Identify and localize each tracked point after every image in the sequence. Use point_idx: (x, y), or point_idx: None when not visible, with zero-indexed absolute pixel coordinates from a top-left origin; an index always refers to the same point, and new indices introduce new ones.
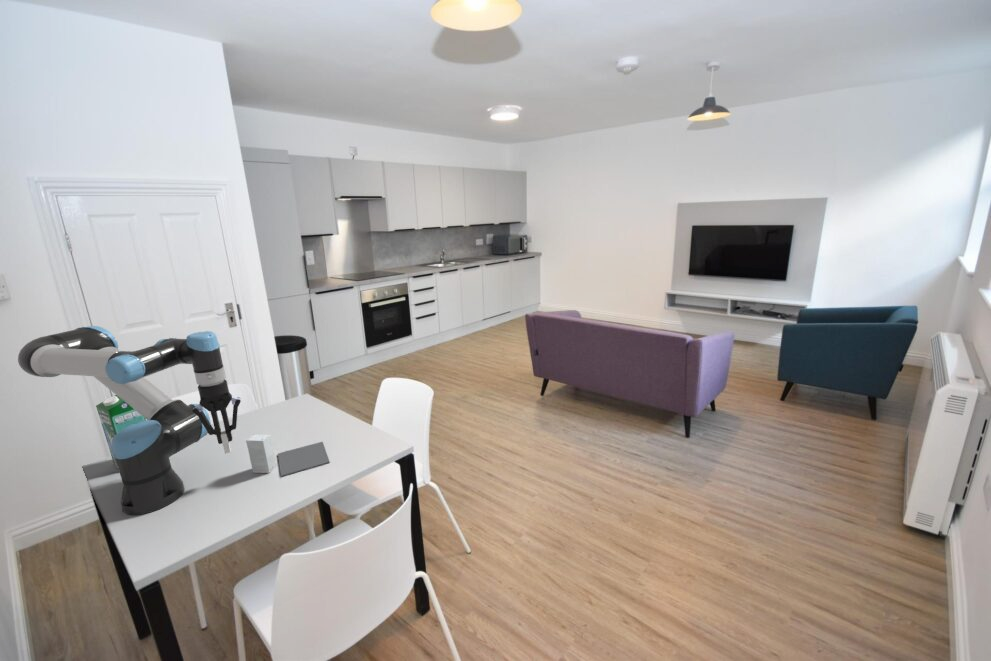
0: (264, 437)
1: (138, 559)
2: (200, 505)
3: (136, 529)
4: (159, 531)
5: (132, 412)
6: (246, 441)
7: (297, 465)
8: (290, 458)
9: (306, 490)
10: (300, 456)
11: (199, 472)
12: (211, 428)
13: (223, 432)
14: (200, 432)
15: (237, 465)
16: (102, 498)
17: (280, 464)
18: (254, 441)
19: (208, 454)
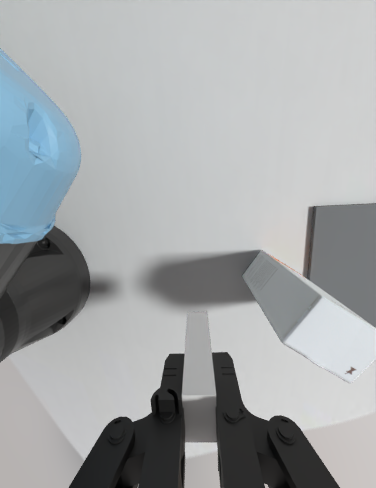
0: (364, 358)
1: (77, 442)
2: (139, 351)
3: (41, 368)
4: (85, 393)
5: None
6: (281, 341)
7: (351, 307)
8: (343, 259)
9: (340, 404)
10: (370, 262)
11: (104, 194)
12: (116, 466)
13: (199, 417)
14: (33, 243)
15: (201, 210)
16: None
17: (312, 278)
18: (314, 361)
19: (104, 71)
